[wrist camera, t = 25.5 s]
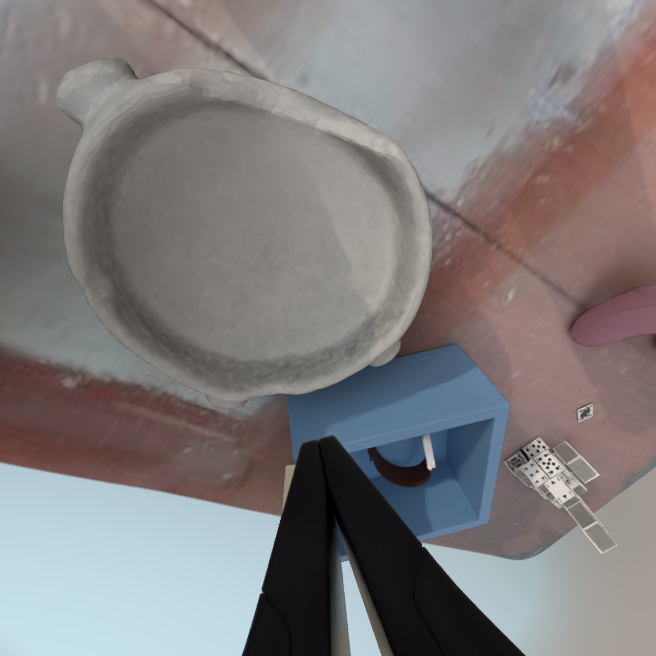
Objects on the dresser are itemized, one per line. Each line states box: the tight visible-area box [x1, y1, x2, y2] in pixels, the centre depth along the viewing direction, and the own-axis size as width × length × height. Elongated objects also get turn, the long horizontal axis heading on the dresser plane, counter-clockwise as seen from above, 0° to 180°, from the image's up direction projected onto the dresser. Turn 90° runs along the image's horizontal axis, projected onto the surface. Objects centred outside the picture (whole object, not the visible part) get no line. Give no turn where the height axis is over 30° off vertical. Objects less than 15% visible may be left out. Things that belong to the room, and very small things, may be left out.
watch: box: [368, 434, 436, 487], centre depth 24 cm, size 8×5×4 cm, turn 16°
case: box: [286, 344, 510, 562], centre depth 24 cm, size 12×12×6 cm
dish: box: [55, 59, 433, 408], centre depth 16 cm, size 14×14×5 cm
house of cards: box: [503, 404, 618, 554], centre depth 29 cm, size 9×9×8 cm
